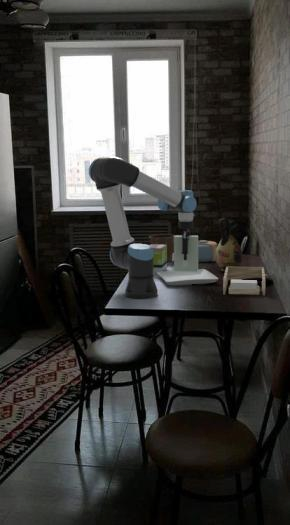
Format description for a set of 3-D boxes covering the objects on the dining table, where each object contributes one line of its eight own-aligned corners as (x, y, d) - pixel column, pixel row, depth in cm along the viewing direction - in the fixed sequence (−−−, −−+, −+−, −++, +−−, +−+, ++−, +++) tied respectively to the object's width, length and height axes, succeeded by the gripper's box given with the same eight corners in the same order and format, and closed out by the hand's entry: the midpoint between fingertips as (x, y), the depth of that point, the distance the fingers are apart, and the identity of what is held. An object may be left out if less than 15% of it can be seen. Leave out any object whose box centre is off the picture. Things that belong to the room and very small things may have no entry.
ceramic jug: (229, 266, 311) (229, 216, 306) (247, 270, 299) (248, 217, 293) (207, 270, 302) (207, 218, 297) (225, 274, 290) (225, 220, 284)
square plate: (204, 275, 291) (204, 268, 290) (219, 285, 264) (219, 277, 264) (156, 277, 287) (155, 270, 286) (166, 288, 260) (166, 280, 259)
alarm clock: (220, 261, 329) (220, 242, 327) (188, 262, 329) (188, 243, 327) (217, 256, 348) (217, 238, 346) (186, 257, 348) (186, 239, 346)
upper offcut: (257, 289, 242) (257, 283, 242) (230, 288, 244) (230, 282, 244) (256, 286, 249) (256, 279, 248) (231, 285, 251) (231, 279, 251)
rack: (265, 295, 241) (265, 280, 239) (223, 294, 244) (223, 279, 243) (263, 280, 272) (263, 267, 271) (226, 279, 276) (226, 266, 275)
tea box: (163, 274, 294) (162, 247, 292) (145, 273, 296) (144, 247, 294) (167, 268, 309) (167, 243, 306) (150, 268, 311) (150, 243, 308)
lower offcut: (259, 295, 243) (259, 289, 242) (228, 295, 245) (228, 288, 245) (259, 292, 249) (259, 286, 249) (229, 291, 252) (229, 285, 251)
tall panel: (197, 271, 271) (197, 236, 268) (174, 271, 273) (173, 236, 270) (198, 269, 276) (198, 235, 272) (175, 269, 278) (175, 235, 275)
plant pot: (146, 262, 329) (146, 237, 327) (153, 258, 345) (153, 234, 342) (171, 263, 325) (171, 237, 322) (177, 259, 340) (177, 234, 337)
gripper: (191, 222, 260) (191, 268, 264) (195, 218, 278) (195, 262, 282) (176, 222, 262) (176, 268, 266) (180, 218, 279) (181, 262, 283)
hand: (186, 265), depth 274 cm, fingers closed on tall panel, 5 cm apart
